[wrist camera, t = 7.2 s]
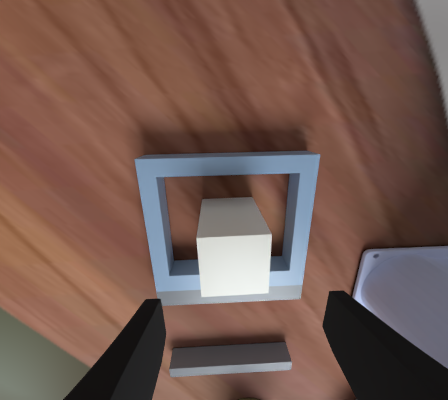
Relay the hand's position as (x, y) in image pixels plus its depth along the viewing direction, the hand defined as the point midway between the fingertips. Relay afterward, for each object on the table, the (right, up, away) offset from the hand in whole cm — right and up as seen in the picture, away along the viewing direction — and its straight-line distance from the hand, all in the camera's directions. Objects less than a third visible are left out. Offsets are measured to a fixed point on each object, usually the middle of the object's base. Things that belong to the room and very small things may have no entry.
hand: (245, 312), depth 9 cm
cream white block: (-1, +3, +8) cm, 9 cm away
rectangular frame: (-1, -2, +10) cm, 10 cm away
